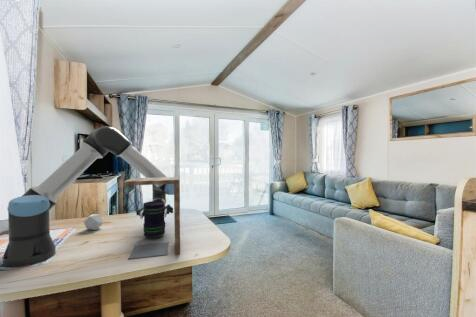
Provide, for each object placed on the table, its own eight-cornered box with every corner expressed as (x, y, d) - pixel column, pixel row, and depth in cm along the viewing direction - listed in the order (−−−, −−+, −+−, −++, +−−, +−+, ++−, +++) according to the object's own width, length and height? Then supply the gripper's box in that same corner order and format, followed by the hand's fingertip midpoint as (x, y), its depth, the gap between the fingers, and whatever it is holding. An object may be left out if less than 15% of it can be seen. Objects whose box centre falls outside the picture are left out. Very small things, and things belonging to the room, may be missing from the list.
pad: (128, 259, 86) (128, 258, 86) (134, 246, 98) (134, 245, 98) (167, 255, 89) (166, 254, 89) (168, 242, 102) (168, 242, 102)
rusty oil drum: (140, 237, 105) (139, 205, 105) (147, 230, 115) (147, 201, 115) (162, 236, 106) (162, 204, 106) (167, 230, 115) (167, 200, 115)
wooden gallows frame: (125, 260, 85) (124, 181, 85) (132, 246, 99) (131, 178, 98) (180, 254, 90) (179, 179, 90) (180, 241, 104) (179, 176, 103)
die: (86, 228, 125) (78, 217, 119) (102, 218, 130) (94, 207, 124) (92, 237, 121) (84, 226, 115) (108, 226, 126) (101, 215, 120)
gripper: (178, 210, 130) (178, 221, 109) (136, 213, 125) (127, 225, 103) (178, 197, 130) (178, 205, 109) (135, 199, 125) (126, 208, 103)
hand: (153, 215), depth 106 cm, fingers closed on rusty oil drum, 10 cm apart
